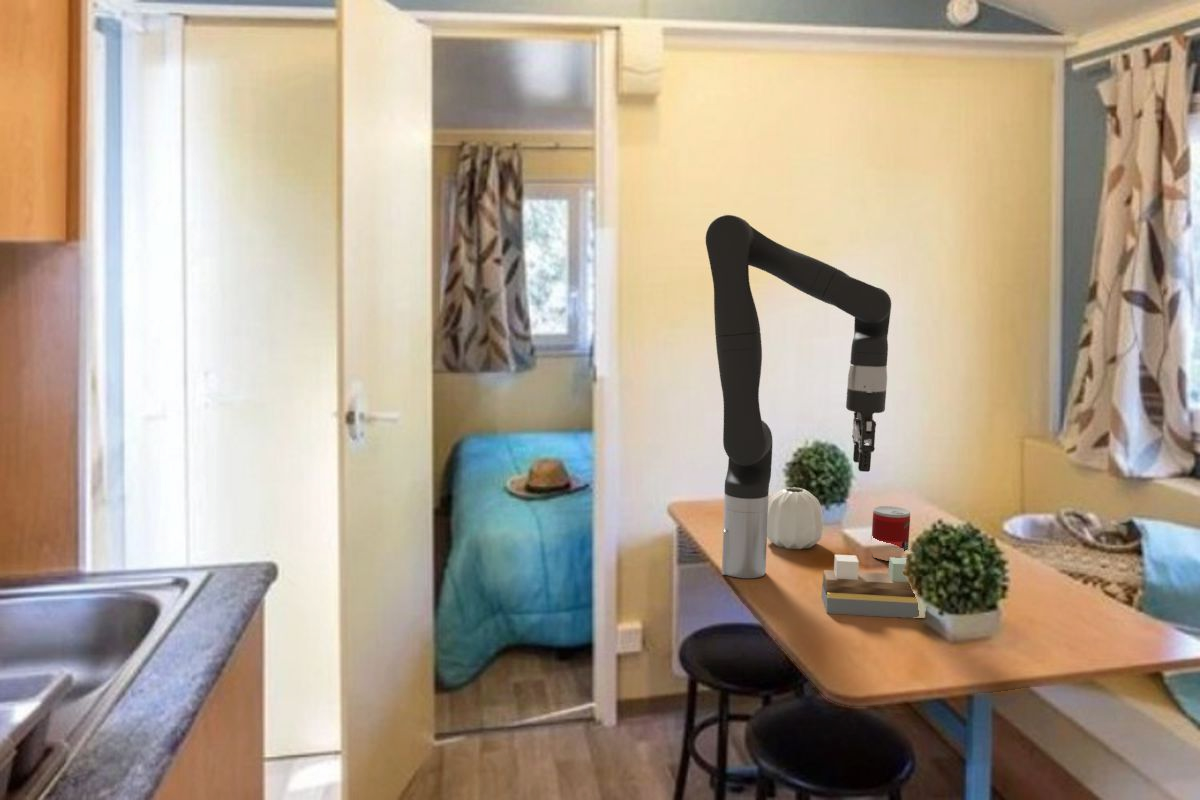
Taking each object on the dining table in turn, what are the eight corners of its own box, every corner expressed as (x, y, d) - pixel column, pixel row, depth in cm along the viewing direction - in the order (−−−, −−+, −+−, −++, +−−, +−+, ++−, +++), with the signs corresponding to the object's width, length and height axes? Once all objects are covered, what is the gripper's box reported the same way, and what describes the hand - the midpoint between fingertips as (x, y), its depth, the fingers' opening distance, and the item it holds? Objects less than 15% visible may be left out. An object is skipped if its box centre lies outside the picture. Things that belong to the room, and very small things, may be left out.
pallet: (826, 594, 170) (826, 579, 169) (822, 584, 175) (823, 570, 175) (924, 600, 167) (925, 584, 167) (918, 590, 173) (918, 575, 172)
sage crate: (892, 581, 169) (893, 563, 168) (888, 574, 173) (889, 557, 172) (914, 582, 168) (915, 564, 168) (909, 575, 172) (910, 558, 172)
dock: (826, 613, 168) (827, 593, 168) (821, 596, 177) (822, 578, 177) (925, 619, 166) (927, 599, 166) (915, 601, 175) (916, 583, 174)
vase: (751, 540, 215) (753, 486, 213) (798, 534, 221) (801, 481, 219) (786, 556, 202) (788, 499, 201) (835, 549, 208) (838, 493, 206)
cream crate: (836, 578, 170) (837, 560, 169) (833, 571, 174) (834, 554, 173) (858, 579, 169) (858, 562, 169) (855, 573, 173) (855, 555, 173)
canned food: (909, 563, 198) (912, 515, 197) (872, 561, 200) (875, 513, 198) (905, 553, 206) (908, 507, 204) (869, 551, 207) (871, 505, 206)
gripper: (843, 382, 187) (838, 458, 189) (851, 391, 173) (846, 473, 175) (880, 384, 185) (875, 460, 188) (891, 392, 171) (885, 475, 174)
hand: (861, 466), depth 181 cm, fingers open, 8 cm apart
